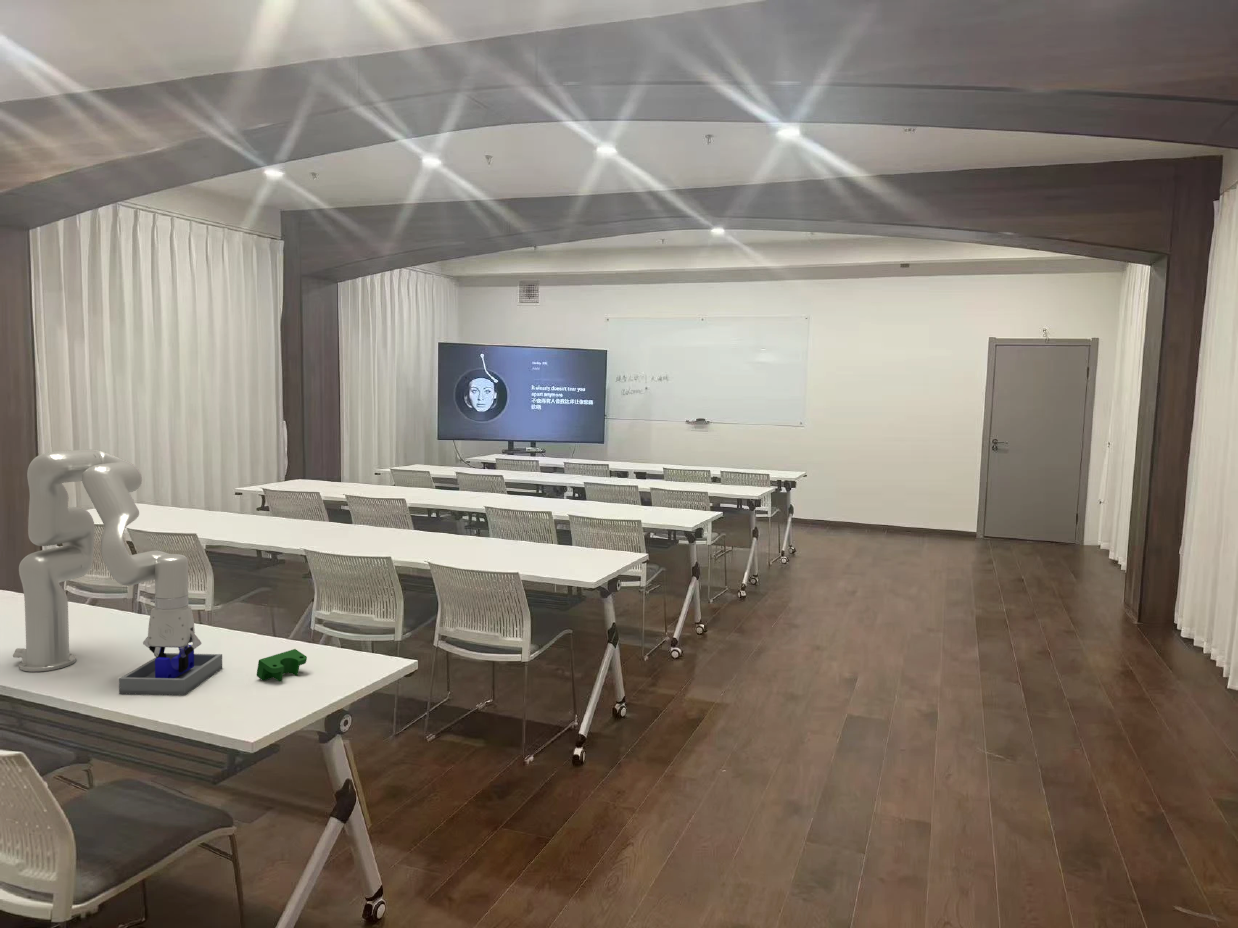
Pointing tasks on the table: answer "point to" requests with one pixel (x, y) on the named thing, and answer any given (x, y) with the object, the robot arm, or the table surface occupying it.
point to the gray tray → (147, 684)
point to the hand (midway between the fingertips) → (172, 669)
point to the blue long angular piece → (171, 666)
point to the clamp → (280, 665)
